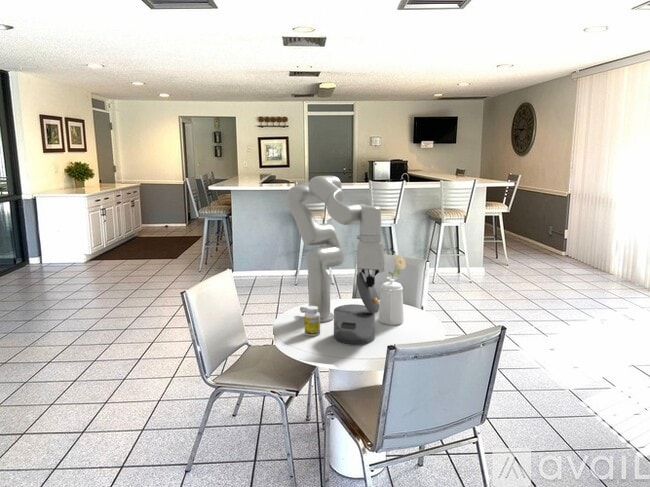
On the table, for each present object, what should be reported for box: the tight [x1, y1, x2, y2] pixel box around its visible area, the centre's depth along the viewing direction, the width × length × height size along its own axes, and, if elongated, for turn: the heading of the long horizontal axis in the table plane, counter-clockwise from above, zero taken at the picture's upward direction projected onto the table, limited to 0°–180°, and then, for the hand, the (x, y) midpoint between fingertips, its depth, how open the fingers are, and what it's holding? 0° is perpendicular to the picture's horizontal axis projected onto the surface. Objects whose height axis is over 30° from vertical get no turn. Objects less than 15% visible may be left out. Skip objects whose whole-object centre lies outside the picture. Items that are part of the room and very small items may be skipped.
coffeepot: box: [377, 279, 405, 326], centre depth 202 cm, size 11×25×19 cm, turn 168°
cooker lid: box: [356, 271, 380, 314], centre depth 181 cm, size 17×17×3 cm
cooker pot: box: [333, 303, 376, 346], centre depth 186 cm, size 16×21×11 cm
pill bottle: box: [304, 305, 321, 337], centre depth 189 cm, size 6×6×11 cm
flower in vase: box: [379, 253, 407, 304], centre depth 224 cm, size 13×11×25 cm
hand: (370, 286), depth 181 cm, fingers closed
